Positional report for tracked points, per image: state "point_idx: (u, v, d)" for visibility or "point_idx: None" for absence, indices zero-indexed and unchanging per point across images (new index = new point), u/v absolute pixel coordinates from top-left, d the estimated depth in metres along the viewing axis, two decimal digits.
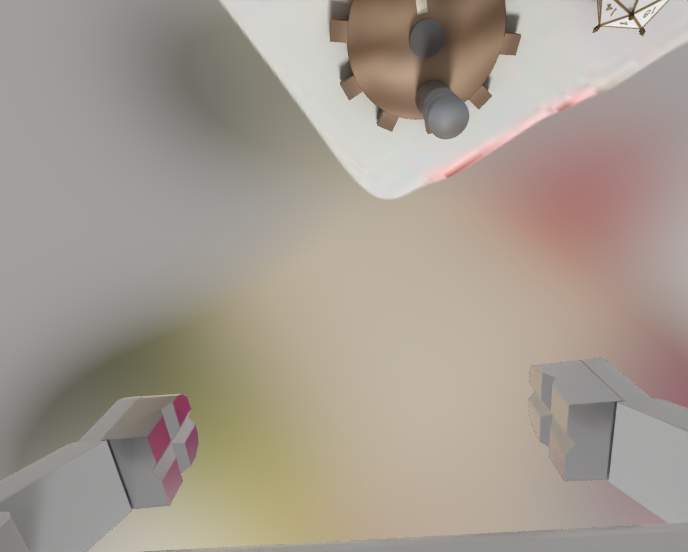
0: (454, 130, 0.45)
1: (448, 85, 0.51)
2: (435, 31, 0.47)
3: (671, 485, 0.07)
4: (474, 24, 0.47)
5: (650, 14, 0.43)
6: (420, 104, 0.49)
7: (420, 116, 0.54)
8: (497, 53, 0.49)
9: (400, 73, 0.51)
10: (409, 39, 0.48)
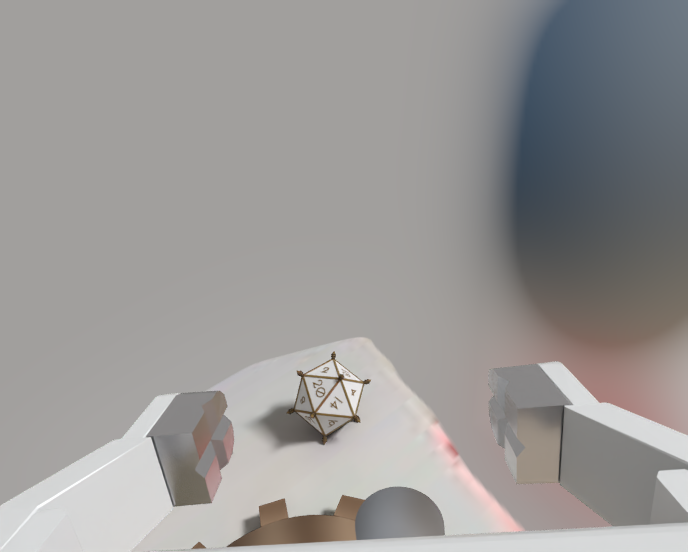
0: (425, 512, 0.20)
1: None
2: None
3: (614, 489, 0.07)
4: None
5: (349, 373, 0.44)
6: None
7: None
8: None
9: None
10: None
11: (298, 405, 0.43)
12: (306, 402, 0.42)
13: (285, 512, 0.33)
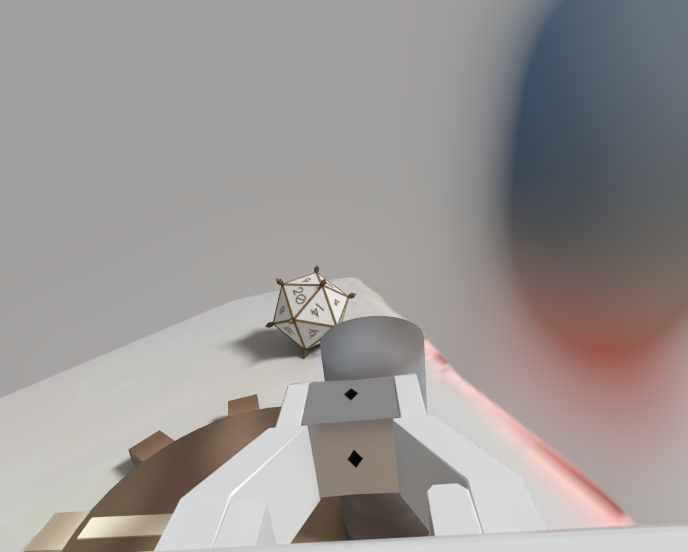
0: (402, 329, 0.17)
1: None
2: None
3: None
4: None
5: (332, 286, 0.41)
6: None
7: None
8: None
9: None
10: None
11: (277, 317, 0.40)
12: (285, 311, 0.39)
13: (256, 405, 0.30)
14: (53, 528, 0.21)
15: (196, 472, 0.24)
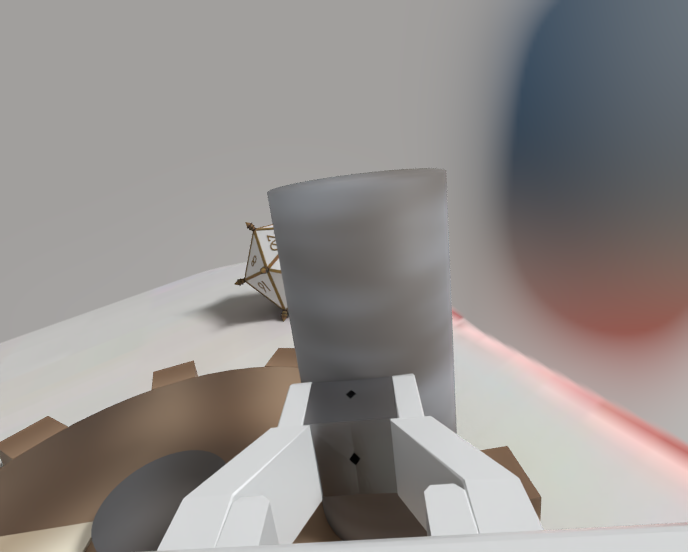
0: (405, 172, 0.10)
1: None
2: (159, 474, 0.13)
3: None
4: (216, 411, 0.18)
5: None
6: None
7: None
8: None
9: None
10: None
11: (249, 271, 0.32)
12: (257, 262, 0.31)
13: (192, 372, 0.22)
14: None
15: (94, 464, 0.16)
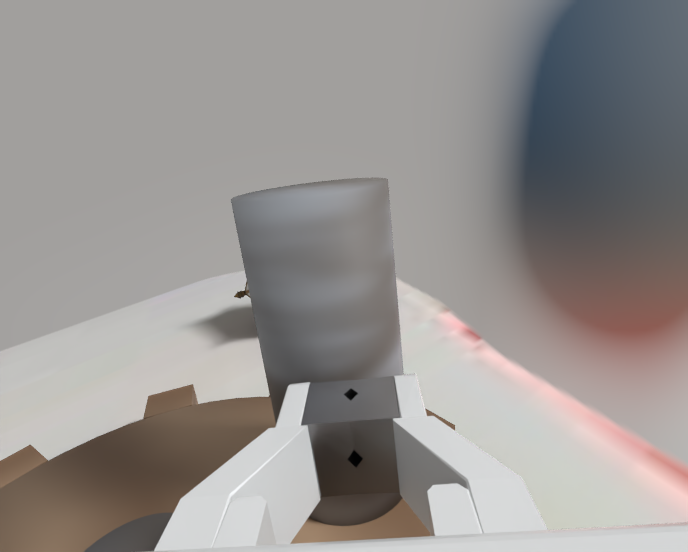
0: (338, 181, 0.12)
1: None
2: None
3: None
4: (110, 483, 0.15)
5: None
6: None
7: None
8: (190, 408, 0.19)
9: None
10: None
11: None
12: None
13: (39, 457, 0.17)
14: None
15: None
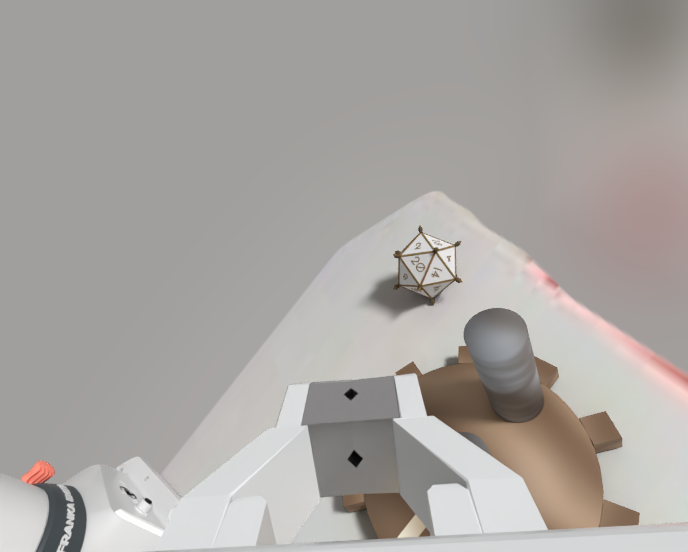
0: (499, 315, 0.30)
1: None
2: None
3: None
4: None
5: (440, 242, 0.47)
6: (527, 395, 0.31)
7: (548, 393, 0.34)
8: (423, 376, 0.41)
9: (527, 459, 0.31)
10: None
11: (402, 281, 0.48)
12: (409, 278, 0.47)
13: None
14: None
15: None
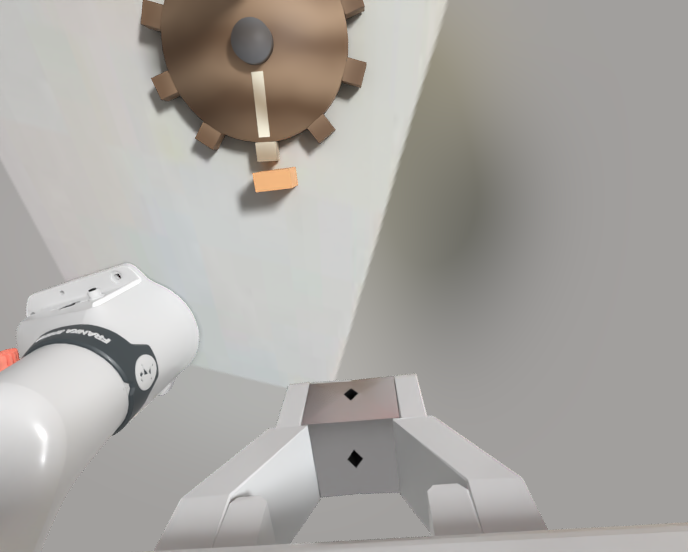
0: None
1: None
2: (241, 47, 0.39)
3: None
4: (197, 47, 0.41)
5: None
6: None
7: None
8: (165, 6, 0.40)
9: (285, 4, 0.39)
10: (272, 44, 0.40)
11: None
12: None
13: (163, 74, 0.42)
14: (265, 155, 0.44)
15: (226, 91, 0.42)
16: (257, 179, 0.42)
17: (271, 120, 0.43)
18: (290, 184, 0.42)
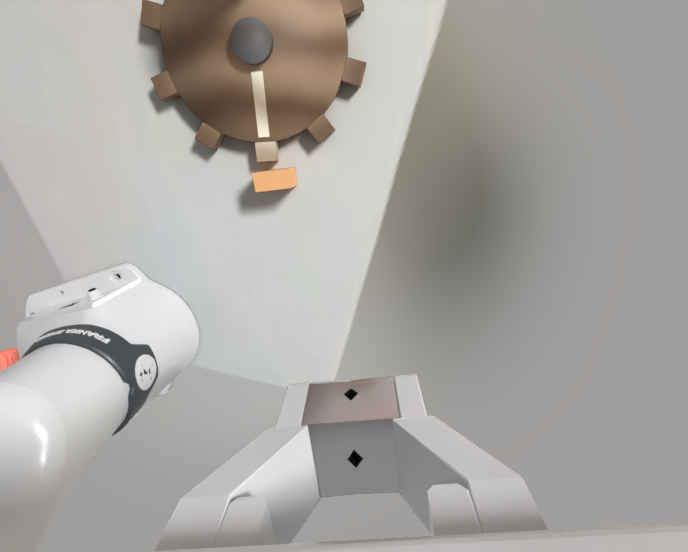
0: None
1: None
2: (240, 47, 0.39)
3: None
4: (197, 47, 0.41)
5: None
6: None
7: None
8: (165, 6, 0.40)
9: (284, 4, 0.39)
10: (271, 44, 0.40)
11: None
12: None
13: (163, 74, 0.42)
14: (265, 155, 0.44)
15: (225, 91, 0.42)
16: (257, 179, 0.42)
17: (271, 120, 0.43)
18: (290, 184, 0.43)
